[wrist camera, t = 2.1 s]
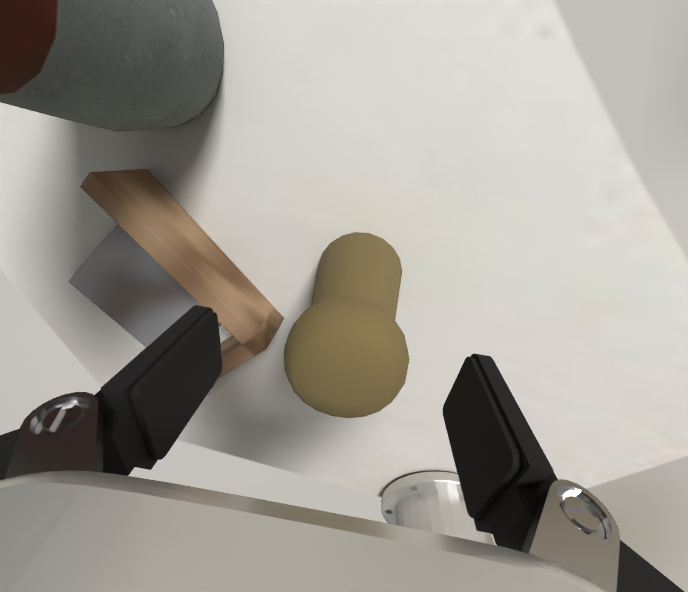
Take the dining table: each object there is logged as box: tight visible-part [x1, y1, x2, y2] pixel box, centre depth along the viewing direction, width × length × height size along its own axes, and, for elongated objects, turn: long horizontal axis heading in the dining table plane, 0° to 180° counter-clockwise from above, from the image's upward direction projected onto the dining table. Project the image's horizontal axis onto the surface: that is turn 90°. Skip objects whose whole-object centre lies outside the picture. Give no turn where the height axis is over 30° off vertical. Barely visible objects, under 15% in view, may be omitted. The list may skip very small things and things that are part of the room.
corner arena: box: [68, 169, 284, 378], centre depth 21 cm, size 14×15×4 cm
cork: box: [284, 232, 409, 418], centre depth 15 cm, size 6×6×11 cm
